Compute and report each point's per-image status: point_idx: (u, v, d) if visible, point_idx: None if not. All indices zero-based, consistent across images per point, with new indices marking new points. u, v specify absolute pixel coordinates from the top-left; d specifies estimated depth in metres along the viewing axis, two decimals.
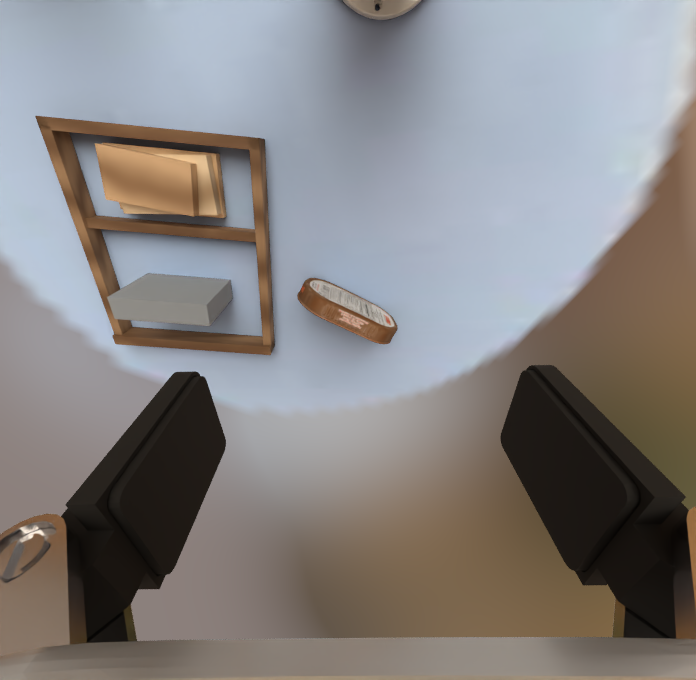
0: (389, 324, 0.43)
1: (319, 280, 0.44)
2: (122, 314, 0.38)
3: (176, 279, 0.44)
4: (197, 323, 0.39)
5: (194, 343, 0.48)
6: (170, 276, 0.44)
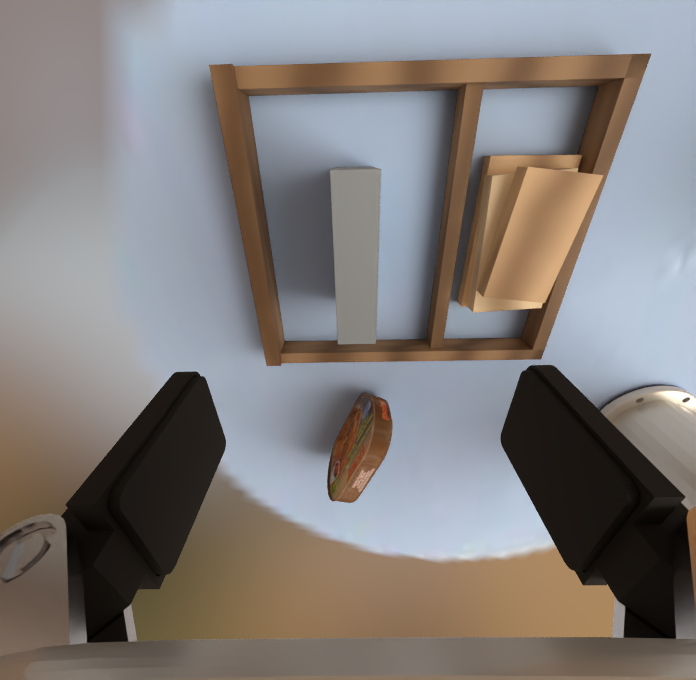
0: None
1: None
2: (341, 191, 0.18)
3: None
4: (340, 327, 0.23)
5: (258, 253, 0.26)
6: None
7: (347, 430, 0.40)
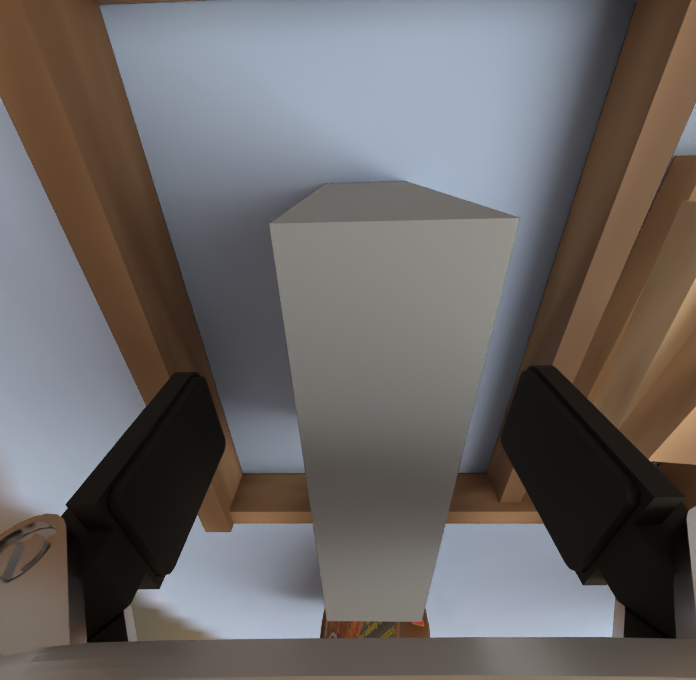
0: None
1: None
2: (329, 306, 0.04)
3: None
4: (334, 600, 0.09)
5: (158, 368, 0.12)
6: None
7: None
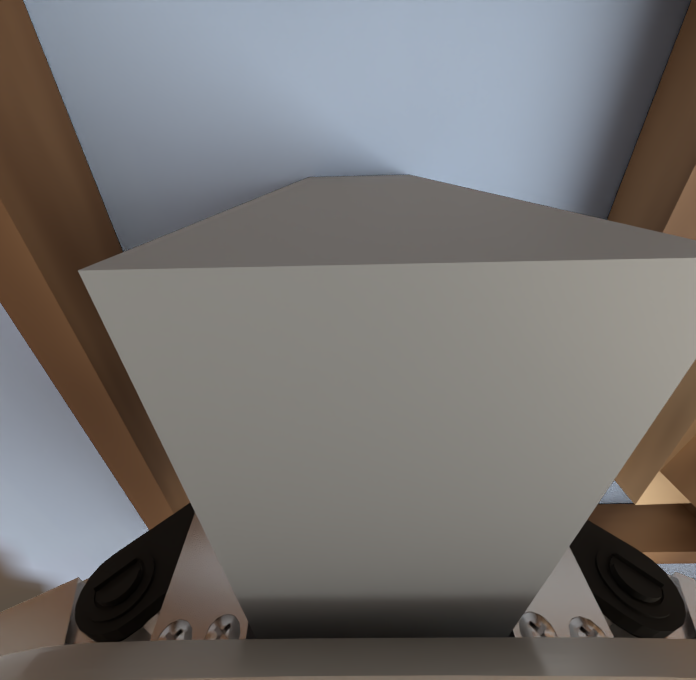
0: None
1: None
2: (268, 440, 0.02)
3: None
4: None
5: (106, 409, 0.10)
6: None
7: None
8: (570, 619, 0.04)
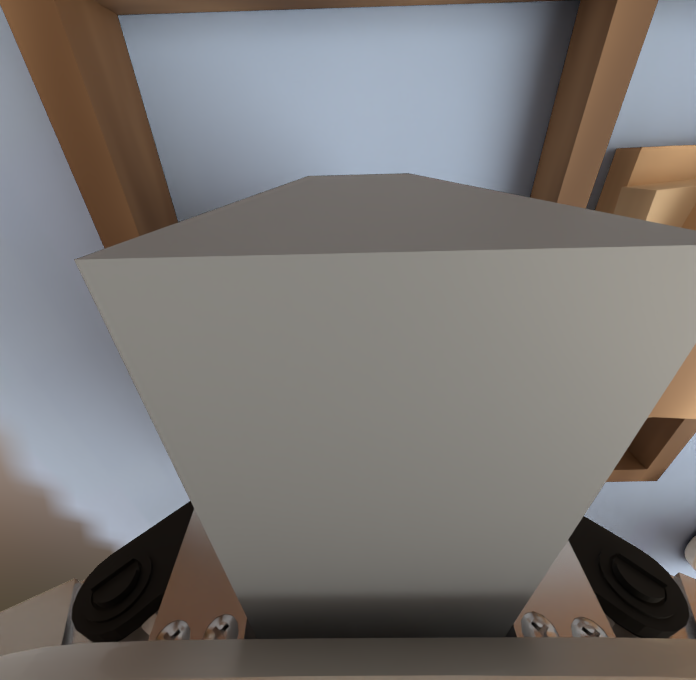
0: None
1: None
2: (264, 434, 0.02)
3: None
4: None
5: None
6: None
7: None
8: (573, 619, 0.04)
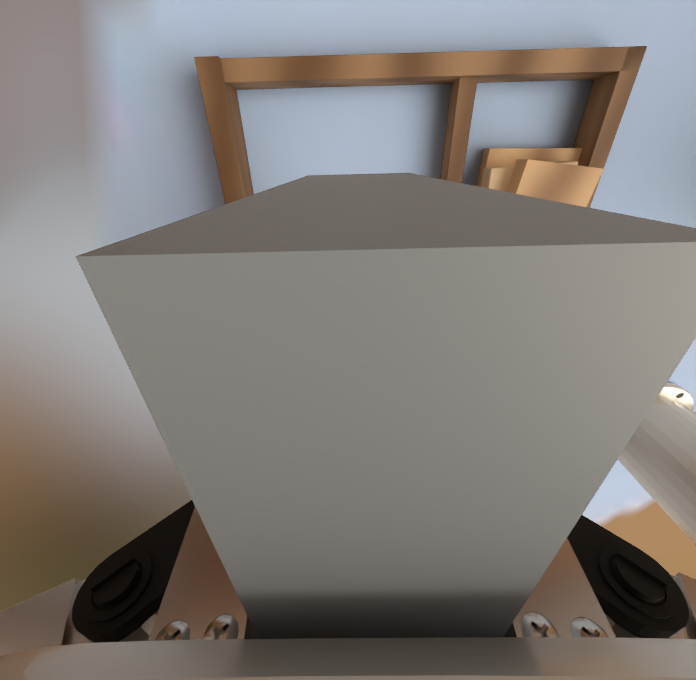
0: None
1: None
2: (265, 430, 0.02)
3: None
4: None
5: None
6: None
7: None
8: (574, 620, 0.04)
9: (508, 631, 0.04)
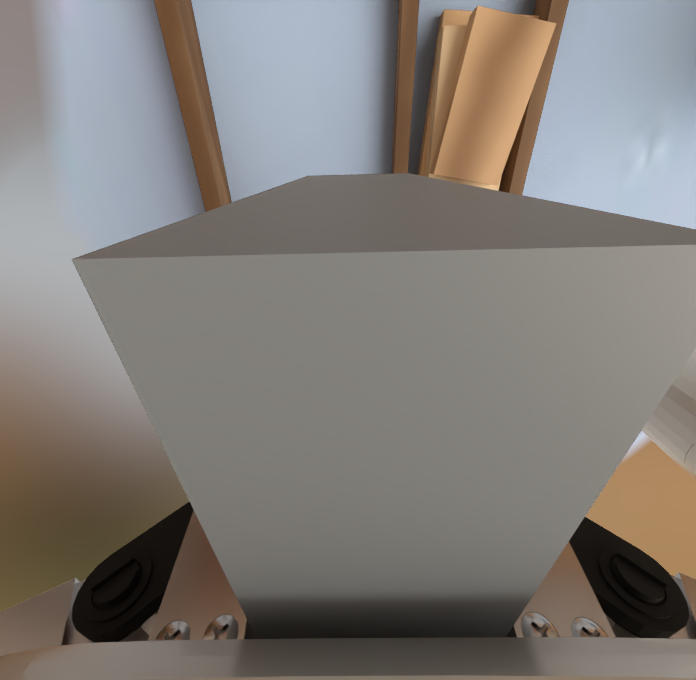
0: None
1: None
2: (264, 434, 0.02)
3: None
4: None
5: (200, 133, 0.25)
6: None
7: None
8: (573, 619, 0.04)
9: None
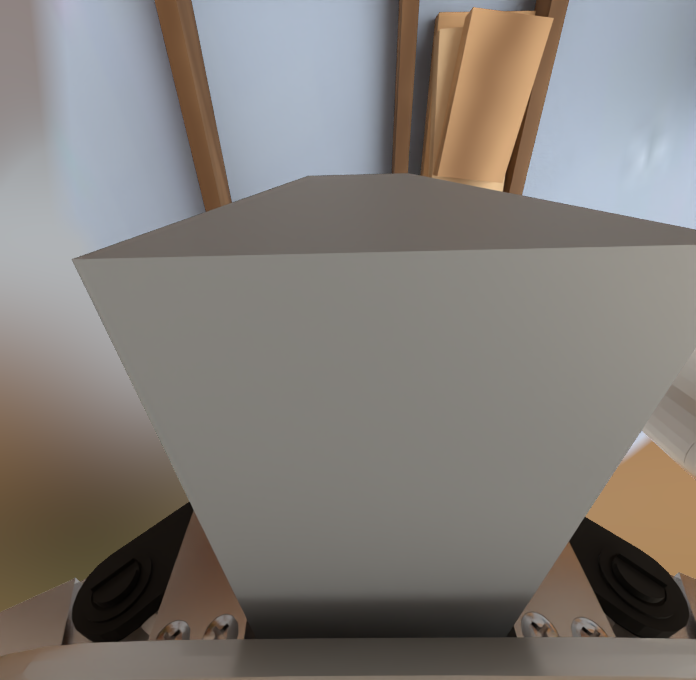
0: None
1: None
2: (264, 433, 0.02)
3: None
4: None
5: (200, 133, 0.25)
6: None
7: None
8: (574, 619, 0.04)
9: None
